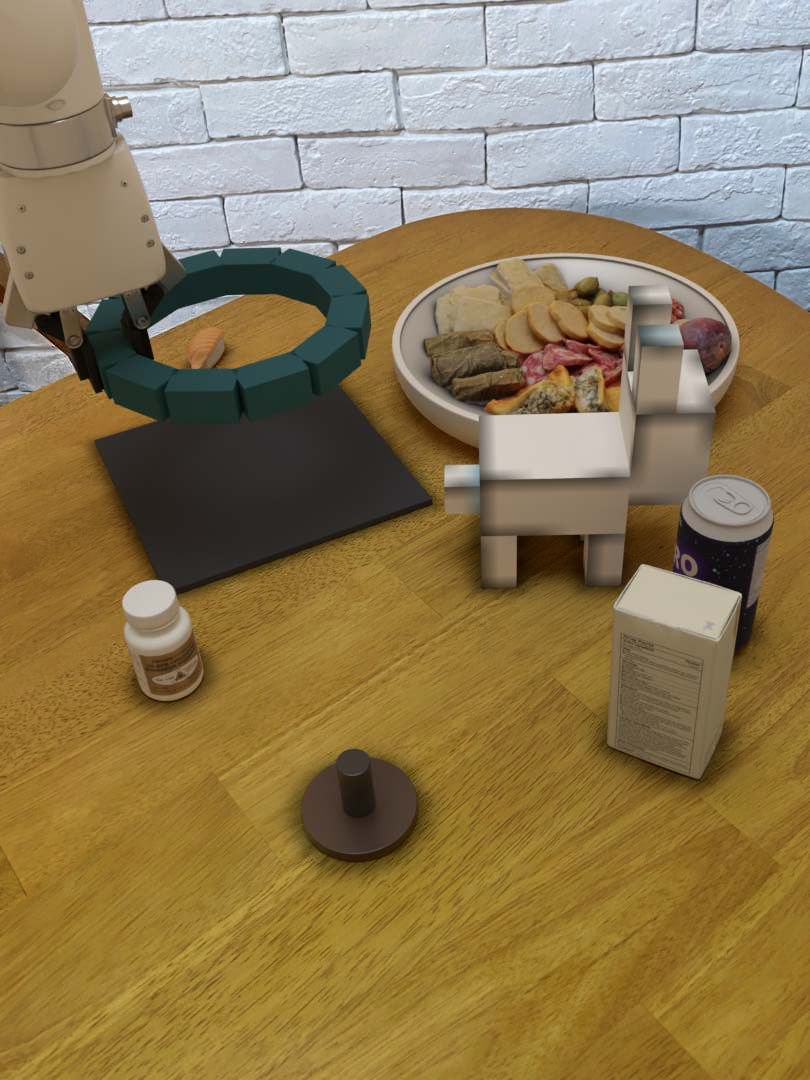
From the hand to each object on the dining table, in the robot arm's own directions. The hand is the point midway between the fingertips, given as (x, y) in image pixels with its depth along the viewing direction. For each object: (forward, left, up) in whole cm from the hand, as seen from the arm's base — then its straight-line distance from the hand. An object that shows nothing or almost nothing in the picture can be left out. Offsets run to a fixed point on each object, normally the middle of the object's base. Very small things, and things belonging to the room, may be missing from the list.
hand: (118, 375), depth 84 cm
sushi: (+11, +19, -13) cm, 25 cm away
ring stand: (+3, -35, -13) cm, 37 cm away
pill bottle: (-4, -19, -13) cm, 23 cm away
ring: (+9, 0, 0) cm, 9 cm away
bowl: (+38, -1, -13) cm, 40 cm away
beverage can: (+30, -33, -13) cm, 46 cm away
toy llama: (+26, -21, -13) cm, 36 cm away
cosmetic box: (+22, -39, -13) cm, 47 cm away
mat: (+9, 0, -13) cm, 15 cm away
